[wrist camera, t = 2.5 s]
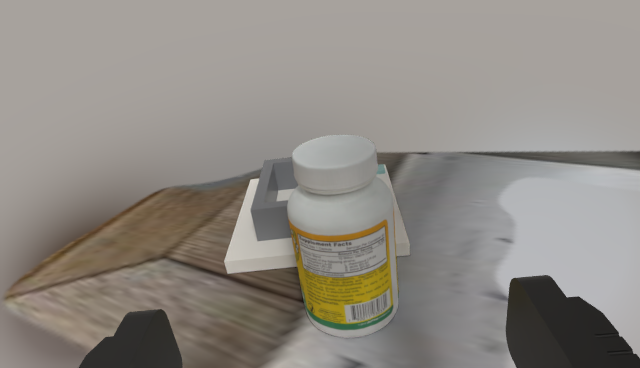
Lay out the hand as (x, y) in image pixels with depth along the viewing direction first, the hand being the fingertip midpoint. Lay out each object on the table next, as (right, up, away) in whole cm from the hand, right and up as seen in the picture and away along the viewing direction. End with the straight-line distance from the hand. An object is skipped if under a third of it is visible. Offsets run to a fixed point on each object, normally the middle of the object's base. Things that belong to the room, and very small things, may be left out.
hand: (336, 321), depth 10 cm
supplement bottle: (+1, -4, +15) cm, 15 cm away
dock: (-1, +1, +24) cm, 24 cm away
